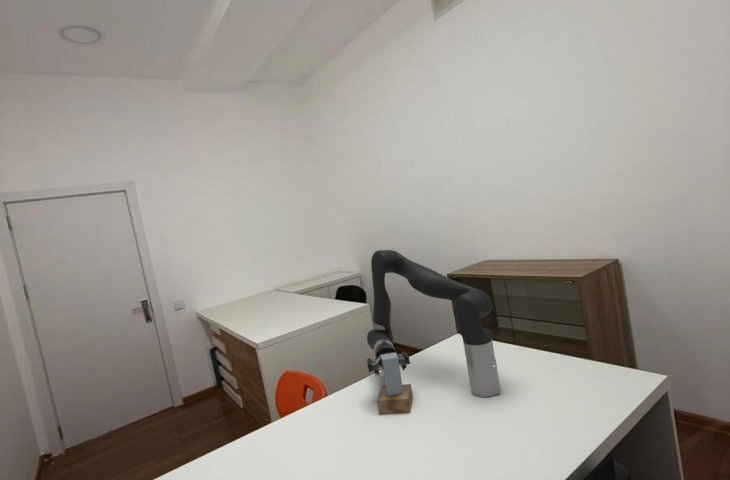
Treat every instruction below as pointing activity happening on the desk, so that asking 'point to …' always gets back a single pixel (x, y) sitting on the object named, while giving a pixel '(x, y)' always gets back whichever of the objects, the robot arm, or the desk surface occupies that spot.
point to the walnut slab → (395, 401)
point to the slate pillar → (392, 374)
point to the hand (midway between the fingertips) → (390, 369)
